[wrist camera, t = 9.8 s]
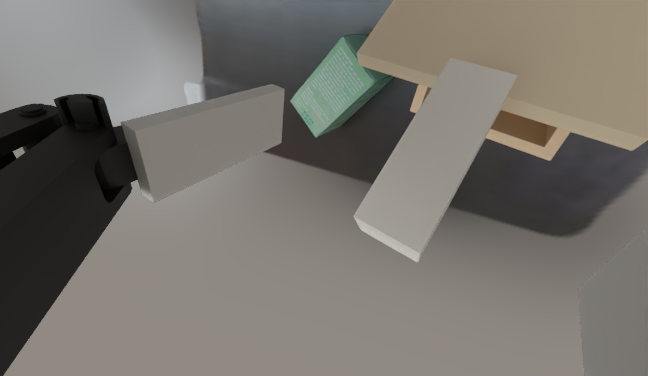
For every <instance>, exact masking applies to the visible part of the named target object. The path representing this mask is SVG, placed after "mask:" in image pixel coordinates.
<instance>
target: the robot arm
mask: <svg viewBox="0 0 648 376" xmlns="http://www.w3.org/2000/svg"><path fill="white" fill-rule="evenodd" d="M54 102H55V104H56V106H57V107H54V106H51V105H44V104H30V105H25V106H22V107H19V108H15V109H12V110H9V111H6V112H4V113H0V376H3V375H4V374H5V372H6V371H7V369H8V368H9V366H10V365H11V363H12V362H13V361H14V359H15V358H16V356H17V355H18V353H19V352H20V350H21V349H22V348H23V346H24V345H25V343H26V342H27V341H28V339H29V338H30V336H31V335H32V333H33V332H34V330H35V329H36V328H37V326H38V325H39V323H40V322H41V320H42V319H43V318H44V316H45V315H46V313H47V312H48V310H49V309H50V308H51V306H52V305H53V303H54V302H55V300H56V299H57V297H58V296H59V295H60V293H61V292H62V290H63V289H64V287H65V286H66V285H67V283H68V281H69V280H70V279H71V277H72V276H73V275H74V273H75V271H76V270H77V269H78V267H79V266H80V264H81V263H82V262H83V260H84V259H85V257H86V256H87V254H88V253H89V251H90V250H91V249H92V247H93V246H94V244H95V243H96V242H97V240H98V239H99V237H100V236H101V234H102V233H103V231H104V230H105V229H106V227H107V226H108V224H109V223H110V221H111V220H112V218H113V217H114V216H115V214H116V213H117V211H118V210H119V209H120V207H121V206H122V204H123V203H124V201H125V200H126V199H127V197H128V195H129V194H130V193H131V190H132V187H131V183H130V182H133V181H135V180H138V183H139V186H140V189H141V193H142V194H143V195H144V196H146V197H147V198H148V199H150V200H151V201H152V202H154V203H155V202H157V201H160V200H161V199H164V198H166V197H168V196H170V195H172V194H174V193H176V192H178V191H181V190H183V189H185V188H187V187H189V186H191V185H193V184H195V183H197V182H199V181H202V180H204V179H206V178H208V177H210V176H212V175H214V174H217V173H219V172H221V171H223V170H225V169H227V168H229V167H231V166H233V165H235V164H238V163H240V162H242V161H244V160H246V159H248V158H250V157H252V156H254V155H257V154H259V153H261V152H263V151H265V150H267V149H269V148H271V147H274V146H276V145H278V144H280V143H281V139H282V122H283V106H284V89H283V88H281V87H278V86H275V85H273V84H270V85H266V86H262V87H258V88H255V89H251V90H247V91H243V92H239V93H235V94H231V95H227V96H223V97H219V98H215V99H211V100H207V101H203V102H199V103H195V104H191V105H187V106H183V107H179V108H175V109H171V110H168V111H164V112H159V113H156V114H151V115H147V116H144V117H140V118H136V119H132V120H128V121H124V122H121V126H117V127H113V126H112V123H111V120H110V116H109V113H108V110H107V107H106V104H105V101H104V99H103V98H102V97H99V96H97V95H92V94H74V95H67V96H62V97H59V98H56V99H54ZM20 147H23V149H24V151H25V153H24V154H23V155H21V156H20V157H18V158H17V159H16V157H15V155H14V153H13V152H12V151H14V150H16V149H18V148H20ZM578 298H579V311H580V324H581V337H582V350H583V365H584V376H648V232H645V231H643V230H642V231H641V232H640V233H639V234H638V235H637V236H636V237H635V238H633V239H632V240H631V241H630V242H629V243H628V244H627V245H626V246H625V247H623V248H622V249H621V250H620V251H619V252H618V253H617V254H616V255H615V256H613V257H612V258H611V259H610V260H609V261H608V262H607V263H606V264H605V265H604V266H603V267H601V268H600V269H599V270H598V271H597V272H596V273H595V274H594V275H592V277H590V278H589V279H588V280H587V281H586V282H585V283H584V284H583V285H581V286H580V287H579V288H578Z"/></svg>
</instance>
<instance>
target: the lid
mask: <svg viewBox="0 0 648 376" xmlns="http://www.w3.org/2000/svg"><path fill="white" fill-rule="evenodd" d="M357 57H358V62H359V65H360V66H363V67H366V68H369V69H372V70H376V71H379V72H382V73H385V74H388V75H392V76H395V77H398V78H401V79H404V80H407V81H411V82H414V83H417V84H420V85H423V86H427V87H430V88H432V89H431V90H430V92H429V94H428V95H427V97H426V99H425V100H424V102H423V103H422V105H421V107H420V108H419V110H418V112H417V113H416V115H415V117H414V118H413V120H412V121H411V123H410V125H409V126H408V128H407V130H406V131H405V133H404V134H403V136H402V138H401V139H400V141H399V143H398V144H397V146H396V148H395V149H394V151H393V152H392V154H391V156H390V157H389V159H388V161H387V162H386V164H385V166H384V167H383V169H382V170H381V172H380V174H379V175H378V177H377V179H376V180H375V182H374V183H373V185H372V187H371V188H370V190H369V192H368V193H367V195H366V197H365V198H364V200H363V202H362V203H361V205H360V206H359V208H358V210H357V211H356V213H355V215H354V218H355V220H356V222H357V224H358V225H359V227H360V229H361V230H362V231H364V232H365V233H367V234H369V235H370V236H372V237H374V238H376V239H378V240H379V241H381V242H383V243H384V244H386V245H388V246H390V247H391V248H393V249H395V250H397V251H398V252H400V253H402V254H404V255H406V256H407V257H409V258H411V259H412V260H414V261H416V262H418V261H419V259H420V257H421V255H422V254H423V252H424V250H425V248H426V246H427V244H428V242H429V240H430V239H431V237H432V235H433V233H434V232H435V230H436V228H437V226H438V224H439V222H440V220H441V219H442V217H443V215H444V213H445V211H446V209H447V208H448V206H449V204H450V202H451V200H452V198H453V197H454V195H455V193H456V191H457V189H458V187H459V186H460V184H461V182H462V180H463V178H464V176H465V175H466V173H467V171H468V169H469V167H470V165H471V164H472V162H473V160H474V158H475V156H476V154H477V152H478V151H479V149H480V147H481V145H482V143H483V141H484V140H485V138H486V136H487V134H488V132H489V130H490V129H491V127H492V125H493V123H494V121H495V119H496V118H497V116H498V114H499V112H500V110H503V111H506V112H509V113H512V114H516V115H519V116H522V117H525V118H528V119H532V120H535V121H538V122H541V123H544V124H547V125H551V126H554V127H557V128H560V129H563V130H567V131H570V132H573V133H576V134H579V135H582V136H586V137H589V138H592V139H595V140H598V141H602V142H605V143H608V144H611V145H614V146H617V147H621V148H624V149H627V150H630V151H633V150H634V149H636V148H637V147H639V146H640V145H642V144H643V143H644V142H646V141H647V140H648V0H393V2H392V3H391V4H390V6H389V7H388V9H387V10H386V12H385V13H384V14H383V16H382V17H381V19H380V20H379V22H378V23H377V25H376V26H375V27H374V29H373V30H372V32H371V33H370V35H369V36H368V37H367V39H366V40H365V42H364V43H363V45H362V46H361V48H360V49H359V50H358V52H357Z"/></svg>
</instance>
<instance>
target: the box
mask: <svg viewBox="0 0 648 376" xmlns="http://www.w3.org/2000/svg"><path fill="white" fill-rule="evenodd" d="M367 37H368V36H367V35H364V34H354V35H345V36H343V37H342V38H340V39H339V41H338V42H337V43H336V45H335V46H334V47H333V49H332V50H331V51H330V52H329V54H328V55H327V56H326V57H325V59H324V60H323V61H322V62H321V64H320V65H319V66H318V67H317V68H316V70H315V71H314V72H313V73H312V75H311V76H310V77H309V78H308V79H307V81H306V82H305V83H304V84H303V85H302V87H301V88H300V89H299V90H298V91H297V93H296V94H295V95H294V97H293V98H292V100H291V103H292V104H293V106H294V107H295V108H296V110H297V111H298V113H299V114H300V116H301V117H302V119H303V120H304V122H305V123H306V124H307V126H308V127H309V129H310V130H311V132H312V133H313V135H314V136H315V137H318V136H320V135H323V134H325V133H327V132H329V131H331V130H334V129H336V128H338V127H340V126H341V125H343V124H344V123H345V122H346V121H347V120H348V119H349V118H350V117H351V116H352V115H354V114H355V113H356V112H357V111H358V110H359V109H360V108H361V107H362V106H363V105H364V104H366V103H367V102H368V101H369V100H370V99H371V98H372V97H373V96H374V95H375V94H376V93H378V92H379V91H380V90H381V89H382V88H383V87H384V86H385V85H386V84H387V83H388V82H390V81H391V80H392V79H393V78H394V77H395V76H392V75H388V74H385V73H382V72H379V71H376V70H372V69H369V68H366V67H363V66H360V65H359V62H358V57H357V52H358V50H359V49H360V48H361V46H362V45H363V43H364V42H365V40H366V39H367Z"/></svg>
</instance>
